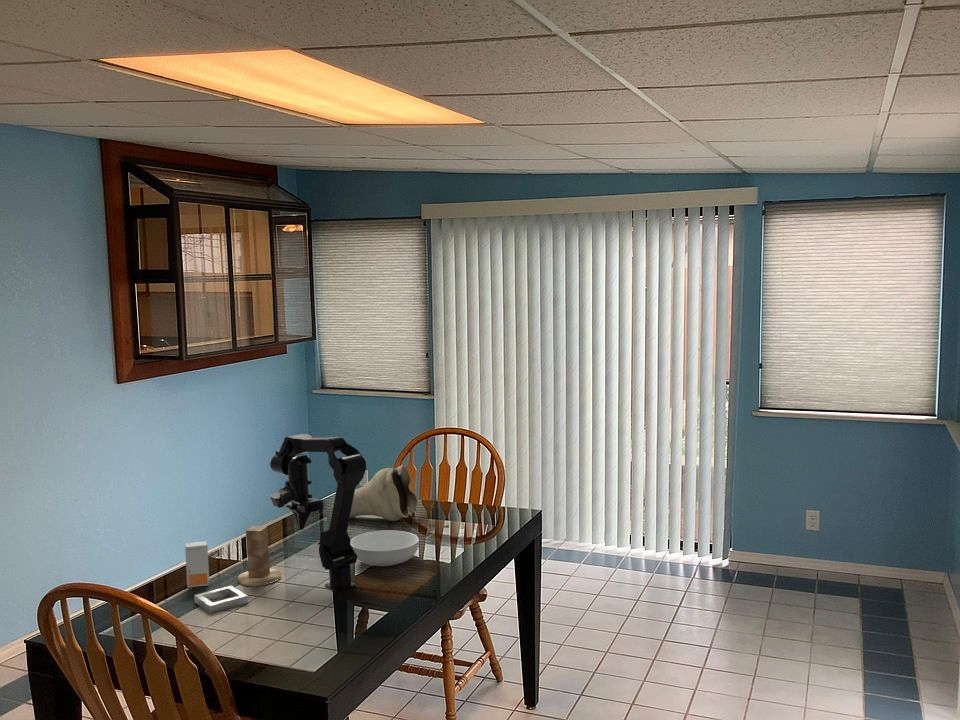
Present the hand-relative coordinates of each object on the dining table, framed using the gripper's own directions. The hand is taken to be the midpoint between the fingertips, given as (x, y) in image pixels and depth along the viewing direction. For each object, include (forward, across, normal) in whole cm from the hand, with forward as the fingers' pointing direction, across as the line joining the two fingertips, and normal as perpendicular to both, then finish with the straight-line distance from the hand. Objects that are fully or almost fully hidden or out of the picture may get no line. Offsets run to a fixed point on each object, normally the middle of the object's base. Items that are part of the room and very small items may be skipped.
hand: (300, 529), depth 262 cm
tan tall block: (+12, -4, -12) cm, 17 cm away
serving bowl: (+13, +9, +23) cm, 28 cm away
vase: (+13, -32, +46) cm, 57 cm away
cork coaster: (+13, -4, -12) cm, 18 cm away
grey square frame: (+13, +6, -28) cm, 31 cm away
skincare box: (+13, -12, -27) cm, 32 cm away
